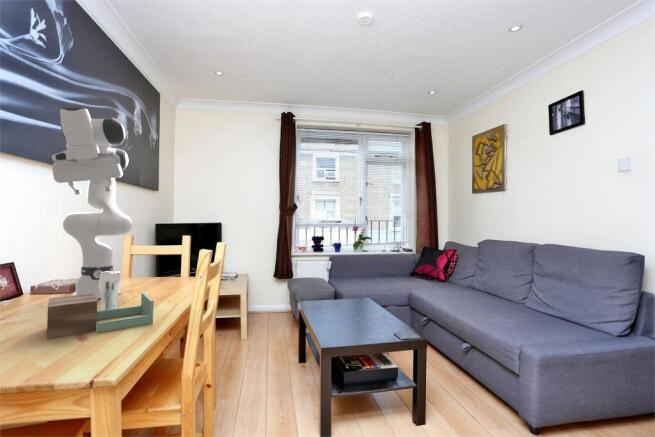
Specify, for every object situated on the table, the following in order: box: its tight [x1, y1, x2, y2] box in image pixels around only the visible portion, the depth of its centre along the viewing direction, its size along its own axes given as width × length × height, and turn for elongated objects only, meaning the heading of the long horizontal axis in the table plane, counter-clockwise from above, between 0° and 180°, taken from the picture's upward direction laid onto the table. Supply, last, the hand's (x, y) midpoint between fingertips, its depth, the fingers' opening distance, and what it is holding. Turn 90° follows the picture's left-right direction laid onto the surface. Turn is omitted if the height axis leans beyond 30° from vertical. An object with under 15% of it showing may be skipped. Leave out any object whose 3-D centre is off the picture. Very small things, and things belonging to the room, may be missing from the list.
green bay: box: [96, 291, 154, 334], centre depth 111 cm, size 16×16×8 cm
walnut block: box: [46, 294, 98, 341], centre depth 101 cm, size 12×12×10 cm
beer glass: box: [99, 270, 121, 311], centre depth 124 cm, size 7×7×15 cm
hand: (94, 192), depth 113 cm, fingers open, 8 cm apart
